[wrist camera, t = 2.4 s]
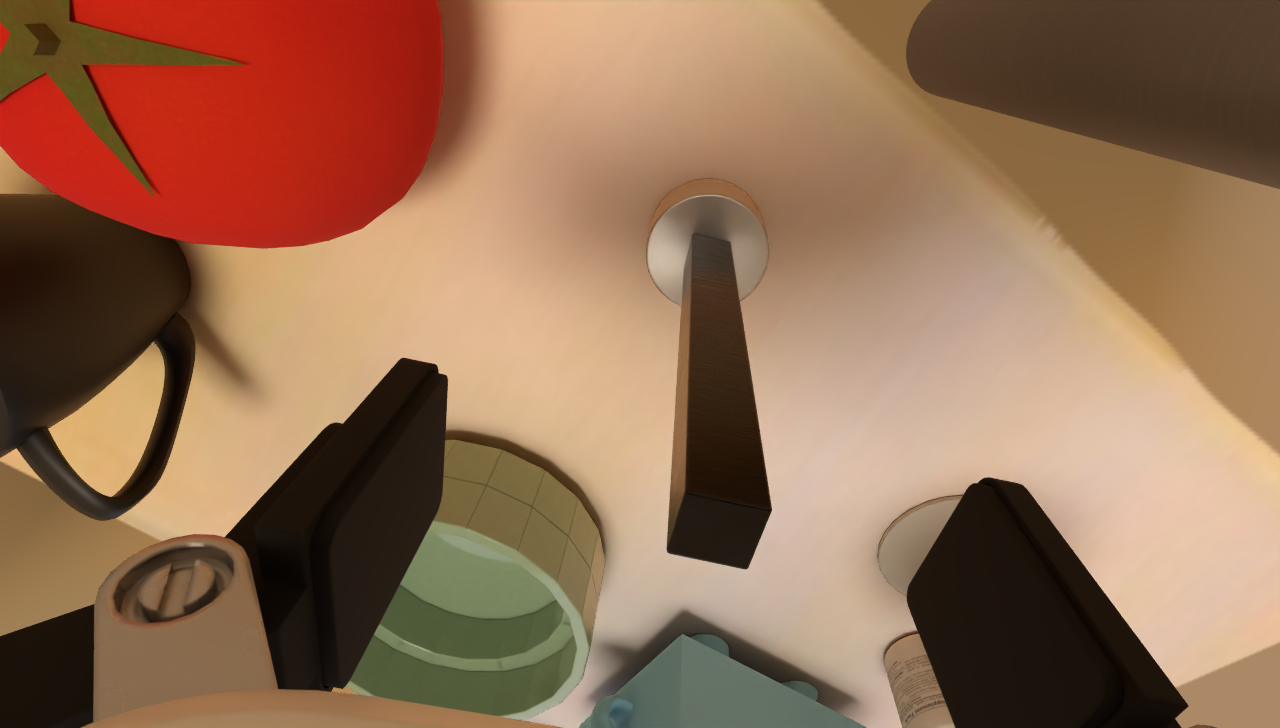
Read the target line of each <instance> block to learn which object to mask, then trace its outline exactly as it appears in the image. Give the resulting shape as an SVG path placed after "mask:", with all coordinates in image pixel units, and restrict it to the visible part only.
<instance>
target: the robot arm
mask: <svg viewBox="0 0 1280 728" xmlns="http://www.w3.org/2000/svg"><path fill="white" fill-rule="evenodd" d="M447 390H448V378H447V376H446V375H444V374H439V373H438V367H437V365H436V364H432V363H427V362H422V361H417V360H412V359H407V358H401V359H400V360H399V361H398V362H397V363H396V364H395V365H394V367H393V368H392V369H391V370H390V371H389V372H388V373H387V375H386V376H385V377H384V378H383V379H382V380H381V381H380V382H379V384H378V385H377V386H376V387H375V388H374V389H373V390H372V392H371V393H370V394H369V395H368V396H367V397H366V398H365V400H364V401H363V402H362V403H361V404H360V405H359V406H358V407H357V409H356V410H355V411H354V412H353V413H352V414H351V415H350V417H349V418H348V419H347V420H346V421H345V422H344V423H343V424H341V423H332V424H330V425H328V426H327V427H326V428H325V429H324V430H323V431H322V432H321V433H320V434H319V435H318V436H317V437H316V438H315V439H314V440H313V441H312V443H311V444H310V445H309V446H308V447H307V448H306V449H305V450H304V451H303V452H302V453H301V455H300V456H299V457H298V458H297V459H296V460H295V461H294V462H293V463H292V464H291V465H290V467H289V468H288V469H287V470H286V471H285V472H284V473H283V474H282V475H281V476H280V477H279V479H278V480H277V481H276V482H275V483H274V484H273V485H272V486H271V487H270V488H269V489H268V491H267V492H266V493H265V494H264V495H263V496H262V497H261V498H260V499H259V500H258V501H257V503H256V504H255V505H254V506H253V507H252V508H251V509H250V510H249V511H248V512H247V513H246V515H245V516H244V517H243V518H242V519H241V520H240V521H239V522H238V523H237V524H236V525H235V527H234V528H233V529H232V530H231V531H230V532H229V533H228V534H227V535H226V536H225V537H221V536H217V535H200V534H193V535H188V536H182V537H176V538H171V539H168V540H165V541H162V542H160V543H157V544H154V545H151V546H149V547H147V548H145V549H143V550H141V551H139V552H138V553H136V554H134V555H132V556H130V557H129V558H127V559H126V560H125V561H124V562H122V563H121V564H120V565H119V566H118V567H116V568H115V569H114V570H113V571H111V572H110V574H109V575H108V577H107V578H106V579H105V581H104V582H103V583H102V585H101V586H100V588H99V590H98V593H97V597H96V601H95V604H93V605H90V606H87V607H84V608H81V609H79V610H76V611H73V612H70V613H67V614H64V615H61V616H58V617H55V618H52V619H50V620H46V621H43V622H41V623H38V624H35V625H32V626H29V627H26V628H23V629H20V630H17V631H14V632H12V633H9V634H6V635H3V636H0V728H561V727H556V726H550V725H544V724H539V723H533V722H528V721H522V720H516V719H511V718H505V717H500V716H494V715H487V714H481V713H475V712H469V711H462V710H456V709H450V708H444V707H437V706H431V705H425V704H419V703H412V702H406V701H400V700H394V699H387V698H381V697H373V696H364V695H355V694H346V693H336V692H331V691H332V689H333V687H336V688H341V689H343V688H344V687H345V686H346V685H347V684H348V683H349V681H350V679H351V677H352V676H353V674H354V672H355V670H356V668H357V666H358V664H359V662H360V660H361V658H362V656H363V654H364V653H365V651H366V649H367V647H368V645H369V643H370V641H371V639H372V637H373V635H374V633H375V631H376V629H377V628H378V626H379V624H380V622H381V620H382V618H383V616H384V614H385V612H386V610H387V608H388V606H389V604H390V603H391V601H392V599H393V597H394V595H395V593H396V591H397V589H398V587H399V585H400V583H401V581H402V579H403V578H404V576H405V574H406V572H407V570H408V568H409V566H410V564H411V562H412V560H413V558H414V556H415V554H416V553H417V551H418V549H419V547H420V545H421V543H422V541H423V539H424V537H425V535H426V533H427V531H428V530H429V528H430V526H431V524H432V522H433V520H434V518H435V516H436V514H437V512H438V510H439V507H440V503H441V500H442V494H443V476H444V455H445V433H446V412H447ZM907 603H908V607H909V609H910V612H911V615H912V617H913V620H914V622H915V625H916V628H917V630H918V633H919V635H920V638H921V641H922V643H923V646H924V648H925V651H926V653H927V656H928V659H929V661H930V664H931V666H932V669H933V672H934V674H935V677H936V679H937V682H938V685H939V687H940V690H941V692H942V695H943V697H944V700H945V703H946V705H947V708H948V710H949V713H950V716H951V718H952V721H953V723H954V726H955V728H1181V726H1180V725H1179V724H1178V722H1177V721H1176V720H1175V718H1176V717H1177V716H1178V715H1179V714H1180V713H1182V712H1183V711H1184V710H1185V709H1186V708H1187V707H1188V704H1187V703H1186V702H1185V700H1184V699H1183V698H1182V696H1181V695H1180V694H1179V692H1178V691H1177V690H1176V688H1175V687H1174V686H1173V684H1172V683H1171V682H1170V680H1169V679H1168V677H1167V676H1166V675H1165V673H1164V672H1163V671H1162V669H1161V668H1160V667H1159V665H1158V664H1157V663H1156V661H1155V660H1154V659H1153V657H1152V656H1151V655H1150V653H1149V652H1148V651H1147V649H1146V648H1145V647H1144V645H1143V644H1142V643H1141V641H1140V640H1139V639H1138V637H1137V636H1136V635H1135V633H1134V632H1133V631H1132V629H1131V628H1130V627H1129V625H1128V624H1127V623H1126V621H1125V620H1124V619H1123V617H1122V616H1121V614H1120V613H1119V612H1118V610H1117V609H1116V608H1115V606H1114V605H1113V604H1112V602H1111V601H1110V600H1109V598H1108V597H1107V596H1106V594H1105V593H1104V592H1103V590H1102V589H1101V588H1100V586H1099V585H1098V584H1097V582H1096V581H1095V580H1094V578H1093V577H1092V576H1091V574H1090V573H1089V572H1088V570H1087V569H1086V568H1085V566H1084V565H1083V564H1082V562H1081V561H1080V560H1079V558H1078V557H1077V556H1076V554H1075V553H1074V552H1073V550H1072V549H1071V547H1070V546H1069V545H1068V543H1067V542H1066V541H1065V539H1064V538H1063V537H1062V535H1061V534H1060V533H1059V531H1058V530H1057V529H1056V527H1055V526H1054V525H1053V523H1052V522H1051V521H1050V519H1049V518H1048V517H1047V515H1046V514H1045V513H1044V511H1043V510H1042V509H1041V507H1040V506H1039V505H1038V503H1037V502H1036V501H1035V499H1034V498H1033V497H1032V495H1031V494H1030V493H1029V491H1028V490H1027V489H1026V488H1025V487H1024V486H1023V485H1021V484H1018V483H1014V482H1009V481H1004V480H999V479H994V478H983V479H982V480H980V481H979V482H978V483H974V484H972V485H970V486H969V487H968V489H967V490H966V492H965V493H964V495H963V496H962V498H961V500H960V501H959V503H958V505H957V506H956V508H955V510H954V511H953V513H952V515H951V516H950V518H949V519H948V521H947V523H946V524H945V526H944V528H943V529H942V531H941V533H940V534H939V536H938V538H937V539H936V541H935V542H934V544H933V546H932V547H931V549H930V551H929V552H928V554H927V556H926V557H925V559H924V561H923V562H922V564H921V565H920V567H919V569H918V570H917V572H916V574H915V575H914V577H913V579H912V580H911V582H910V584H909V586H908V589H907ZM1190 728H1215V727H1213V726H1206V725H1195V726H1193V727H1190Z"/></svg>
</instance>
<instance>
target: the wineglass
mask: <svg viewBox="0 0 1280 728" xmlns="http://www.w3.org/2000/svg"><path fill="white" fill-rule="evenodd" d="M962 496H963V495H962ZM962 496H952V497H944V498H940V499H936V500H933V501H929V502H926V503H923V504H921V505H919V506H917V507H915V508H913V509H911V510H909V511H907V512H906V513H905V514H903V515H902V516H901V517H899V518H898V519H896V520H895V521H894V522H893V524H892V525H891V526H890V527H889V528H888V529H887V530H886V532H885V533H884V535H883V537H882V539H881V541H880V544H879V549H878V556H877V557H878V562H879V566H880V570H881V572H882V574H883V576H884V577H885V579H886V580H887V582H888V583H889V584H890V585H891V586H892V587H894V588H895V589H896V590H897V591H898V592H900V593H902V594H904V595H906V596H907V589H908V586H909V584H910V582H911V580H912V579H913V577H914V575H915V574H916V572H917V570H918V569H919V567H920V565H921V564H922V562H923V561H924V559H925V557H926V556H927V554H928V552H929V551H930V549H931V547H932V546H933V544H934V542H935V541H936V539H937V538H938V536H939V534H940V533H941V531H942V529H943V528H944V526H945V524H946V523H947V521H948V519H949V518H950V516H951V515H952V513H953V511H954V510H955V508H956V506H957V505H958V503H959V501H960V500H961V498H962Z"/></svg>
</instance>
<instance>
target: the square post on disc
mask: <svg viewBox="0 0 1280 728" xmlns="http://www.w3.org/2000/svg"><path fill="white" fill-rule="evenodd" d="M768 260H769V242H768V236H767V233H766V230H765V227H764V224H763V221H762V218H761V215H760V213H759V210H758V208H757V206H756V205H755V203H754V202H753V200H752V199H751V198H750V197H749V196H748V195H747V194H746V193H745V192H744V191H743V190H742V189H740V188H738V187H737V186H735V185H733V184H731V183H729V182H725V181H722V180H717V179H699V180H695V181H691V182H688V183H685V184H683V185H681V186H679V187H677V188H676V189H674V190H673V191H672V192H670V193H669V194H668V195H667V196H666V197H665V198H664V199H663V201H662V202H661V203H660V205H659V206H658V208H657V210H656V212H655V214H654V216H653V219H652V223H651V227H650V231H649V235H648V239H647V245H646V263H647V267H648V271H649V274H650V276H651V278H652V280H653V282H654V284H655V285H656V287H657V288H658V289H659V290H660V292H661V293H662V294H663V295H664V296H666V297H667V298H668V299H669V300H671V301H672V302H674V303H676V304H678V305H680V306H681V321H680V337H679V354H678V370H677V387H676V403H675V420H674V436H673V453H672V469H671V486H670V503H669V519H668V536H667V552H668V553H669V554H674V555H679V556H683V557H688V558H693V559H698V560H703V561H707V562H712V563H717V564H722V565H727V566H731V567H736V568H741V569H747V568H748V567H749V565H750V562H751V560H752V557H753V555H754V553H755V550H756V548H757V545H758V543H759V540H760V538H761V536H762V533H763V531H764V528H765V526H766V523H767V521H768V519H769V516H770V514H771V511H772V506H771V500H770V494H769V487H768V481H767V474H766V468H765V461H764V455H763V448H762V442H761V435H760V429H759V422H758V416H757V409H756V403H755V396H754V390H753V383H752V377H751V371H750V364H749V358H748V351H747V345H746V338H745V332H744V325H743V319H742V312H741V306H740V301H741V300H743V299H744V298H746V297H747V296H748V295H749V294H750V293H751V292H752V291H753V290H754V289H755V288H756V287H757V285H758V284H759V283H760V281H761V279H762V277H763V276H764V273H765V271H766V268H767V264H768Z"/></svg>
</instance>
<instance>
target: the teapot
mask: <svg viewBox="0 0 1280 728" xmlns="http://www.w3.org/2000/svg"><path fill="white" fill-rule="evenodd" d="M817 697H818V692H817V690H816V688H815V687H814V686H812V685H811V684H809V683H806V682H803V681H787V682H783V683H779V682H777V681H775V680H773V679H771V678H769V677H767V676H765V675H763V674H761V673H759V672H757V671H755V670H753V669H751V668H749V667H747V666H745V665H743V664H741V663H739V662H737V661H735V660H733V659H731V658H729V647H728V645H727V643H726V642H725V641H724V640H723V639H721V638H719V637H717V636H714V635H710V634H698V635H694V636H692V637H687V636H685V635H683V634H681V635H680V636H679V637H678V638H677V639H676V640H675V641H674V642H672V643H671V644H670V645H669V646H668V647H667V648H666V649H665V650H663V651H662V652H661V653H660V654H659V655H658V656H657V657H656V658H655V659H653V660H652V661H651V662H650V663H649V664H648V665H647V666H646V667H644V668H643V669H642V670H641V671H640V672H639V673H638V674H637V675H635V676H634V677H633V678H632V679H631V680H630V681H629V682H628V683H626V684H625V685H624V686H623V687H622V688H621V689H620V690H619V691H618V692H617V693H615V694H614V695H609V696H606V697H604V698H602V699H601V700H600V701H599V702H598V703H597V705H596V706H595V708H594V710H593V712H592V715H591V716H590V717H588V718H587V719H586V720H585V721H584V722H583V723H582V724H581V725H580V727H579V728H866V727H865V726H863V725H861V724H859V723H857V722H855V721H853V720H851V719H849V718H847V717H845V716H843V715H841V714H839V713H838V712H836V711H834V710H832V709H830V708H828V707H826V706H824V705H822V704H820V703H818V702H816V700H817Z"/></svg>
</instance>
